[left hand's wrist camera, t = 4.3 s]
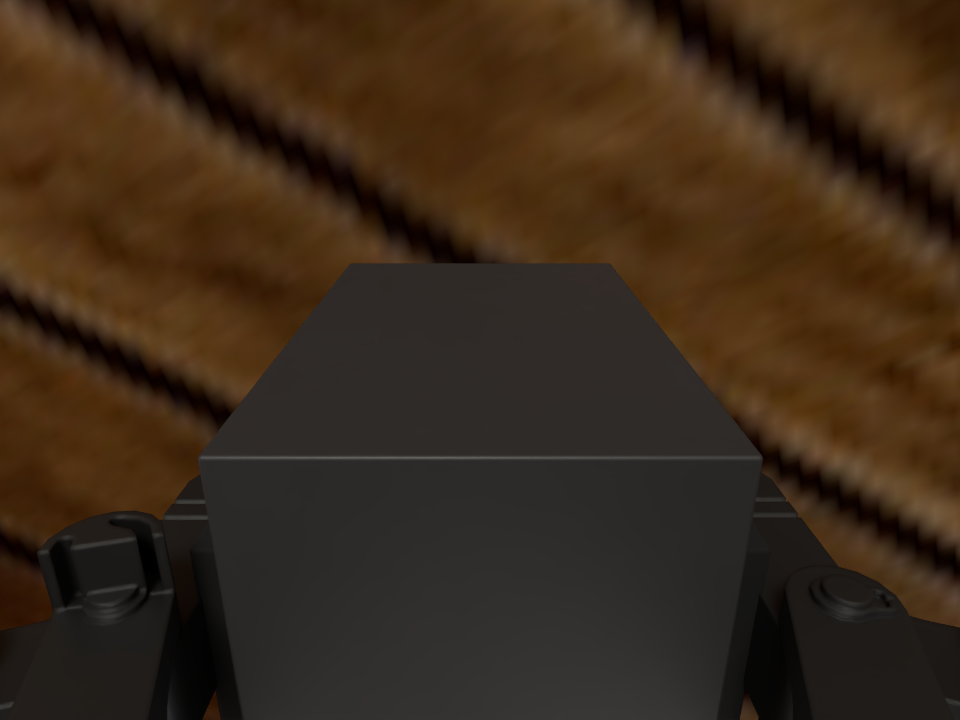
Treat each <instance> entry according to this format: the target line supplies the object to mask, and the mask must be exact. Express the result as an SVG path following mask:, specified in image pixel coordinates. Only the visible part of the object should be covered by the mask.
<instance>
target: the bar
mask: <svg viewBox="0 0 960 720" xmlns="http://www.w3.org/2000/svg"><path fill="white" fill-rule="evenodd" d="M762 461H763V458H762V455H761V454H760V453H759V452H758V450H757V449H756V448H755V447H754V445H753V444H752V443H751V441H750V440H749V439H748V438H747V436H746V435H745V434H744V433H743V431H742V430H741V429H740V428H739V426H738V425H737V424H736V422H735V421H734V420H733V419H732V417H731V416H730V415H729V414H728V412H727V411H726V410H725V409H724V407H723V406H722V405H721V403H720V402H719V401H718V400H717V398H716V397H715V396H714V395H713V393H712V392H711V391H710V390H709V388H708V387H707V386H706V385H705V383H704V382H703V381H702V379H701V378H700V377H699V376H698V374H697V373H696V372H695V371H694V369H693V368H692V367H691V366H690V364H689V363H688V362H687V360H686V359H685V358H684V357H683V355H682V354H681V353H680V352H679V350H678V349H677V348H676V347H675V345H674V344H673V343H672V341H671V340H670V339H669V338H668V336H667V335H666V334H665V333H664V331H663V330H662V329H661V328H660V326H659V325H658V324H657V323H656V321H655V320H654V319H653V317H652V316H651V315H650V314H649V312H648V311H647V310H646V309H645V307H644V306H643V305H642V304H641V302H640V301H639V300H638V298H637V297H636V296H635V295H634V293H633V292H632V291H631V290H630V288H629V287H628V286H627V285H626V283H625V282H624V281H623V279H622V278H621V277H620V276H619V274H618V273H617V272H616V271H615V269H614V268H613V267H612V266H611V264H350V265H349V266H348V267H347V269H346V270H345V271H344V272H343V274H342V275H341V276H340V277H339V279H338V280H337V281H336V283H335V284H334V285H333V286H332V288H331V289H330V290H329V291H328V293H327V294H326V295H325V297H324V298H323V299H322V300H321V302H320V303H319V304H318V305H317V307H316V308H315V309H314V310H313V312H312V313H311V314H310V316H309V317H308V318H307V319H306V321H305V322H304V323H303V324H302V326H301V327H300V328H299V329H298V331H297V332H296V333H295V335H294V336H293V337H292V338H291V340H290V341H289V342H288V343H287V345H286V346H285V347H284V349H283V350H282V351H281V352H280V354H279V355H278V356H277V357H276V359H275V360H274V361H273V362H272V364H271V365H270V366H269V368H268V369H267V370H266V371H265V373H264V374H263V375H262V376H261V378H260V379H259V380H258V381H257V383H256V384H255V385H254V387H253V388H252V389H251V390H250V392H249V393H248V394H247V395H246V397H245V398H244V399H243V400H242V402H241V403H240V404H239V406H238V407H237V408H236V409H235V411H234V412H233V413H232V414H231V416H230V417H229V418H228V420H227V421H226V422H225V423H224V425H223V426H222V427H221V428H220V430H219V431H218V432H217V433H216V435H215V436H214V437H213V439H212V440H211V441H210V442H209V444H208V445H207V446H206V447H205V449H204V450H203V451H202V452H201V454H200V455H199V457H198V463H199V469H200V474H201V480H202V486H203V492H204V498H205V504H206V509H207V515H208V521H209V527H210V533H211V539H212V545H213V550H214V556H215V562H216V568H217V574H218V580H219V586H220V591H221V597H222V603H223V609H224V615H225V621H226V627H227V632H228V638H229V644H230V650H231V656H232V662H233V667H234V673H235V679H236V685H237V691H238V697H239V703H240V708H241V714H242V720H718V718H719V712H720V706H721V700H722V695H723V689H724V683H725V677H726V671H727V665H728V660H729V654H730V648H731V642H732V636H733V630H734V625H735V619H736V613H737V607H738V601H739V595H740V590H741V584H742V578H743V572H744V566H745V561H746V555H747V549H748V543H749V537H750V531H751V526H752V520H753V514H754V508H755V502H756V496H757V491H758V485H759V479H760V473H761V467H762Z"/></svg>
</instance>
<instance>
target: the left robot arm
mask: <svg viewBox="0 0 960 720" xmlns="http://www.w3.org/2000/svg"><path fill="white" fill-rule="evenodd" d="M37 555H38V559H39V562H40V566H41V569H42V573H43V576H44V580H45V583H46V587H47V590H48V594H49V597H50V601H51V604H52V608H53V614H52V616H51V618H50V619H49V620H45V621H42V622H38V623H34V624H29V625H25V626H20V627H16V628H11V629H6V630H2V631H0V720H202V719H203V716H204V714H205V712H206V710H207V707H208V705H209V703H210V701H211V698H212V696H213V694H214V692H215V690H216V696H217V701H218V706H219V712H220V717H221V720H242V714H241V708H240V703H239V697H238V691H237V685H236V679H235V673H234V667H233V662H232V656H231V650H230V644H229V638H228V632H227V627H226V621H225V615H224V609H223V603H222V597H221V591H220V586H219V580H218V574H217V568H216V562H215V556H214V550H213V545H212V539H211V533H210V527H209V521H208V515H207V509H206V504H205V498H204V492H203V486H202V480H201V474H200V475H199V476H197V477H195V478H194V479H192V480H191V481H189V483H188V484H187V485H186V487H185V488H184V489H183V491H182V492H181V493H180V495H179V496H178V497H177V498H176V500H175V504H172V505H171V506H170V508H169V509H168V510H167V512H166V513H165V514H164V516H163V520H158V519H157V518H156V517H155V516H153V515H152V514H148V513H143V512H139V511H119V512H111V513H106V514H102V515H97V516H93V517H89V518H87V519H85V520H82V521H80V522H77V523H75V524H73V525H70V526H68V527H66V528H65V529H63V530H62V531H60V532H59V533H57V534H56V535H54V536H52V537H51V538H49V539H48V540H47V542H46V543H45V544H44V545H43V546H42V547H41V549H40V550H39V551H38V552H37ZM745 688H746V690H747V692H748V694H749V696H750V698H751V701H752V703H753V705H754V707H755V710H756V712H757V714H758V716H759V719H758V720H960V628H958V627H954V626H949V625H945V624H940V623H935V622H931V621H926V620H922V619H919V618H915V617H911V616H909V615H908V612H907V610H906V609H905V608H904V606H903V605H902V603H901V602H900V601H899V599H898V598H897V597H896V595H894V594H893V593H892V592H890V591H889V590H888V589H887V588H885V587H884V586H883V585H881V584H880V583H879V582H877V581H875V580H873V579H871V578H869V577H866V576H864V575H862V574H860V573H858V572H856V571H852V570H848V569H844V568H840V567H838V566H837V564H836V563H835V562H834V560H833V559H832V558H831V556H830V555H829V554H828V553H827V551H826V550H825V549H824V547H823V546H822V545H821V543H820V542H819V541H818V539H817V538H816V537H815V536H814V534H813V533H812V532H811V530H810V529H809V528H808V526H807V525H806V524H805V522H804V521H803V520H802V519H801V518H798V513H797V512H796V511H795V509H794V508H793V507H792V505H791V504H790V503H789V502H786V498H785V496H784V495H783V494H782V492H781V491H780V490H779V488H778V487H777V486H776V485H775V483H774V482H773V481H772V479H770V478H769V477H767V476H766V475H764V474H763V473H760V479H759V485H758V491H757V496H756V502H755V508H754V514H753V520H752V526H751V531H750V537H749V543H748V549H747V555H746V561H745V566H744V572H743V578H742V584H741V590H740V595H739V601H738V607H737V613H736V619H735V625H734V630H733V636H732V642H731V648H730V654H729V660H728V665H727V671H726V677H725V683H724V689H723V695H722V700H721V706H720V712H719V718H718V720H740V714H741V709H742V704H743V698H744V693H745Z"/></svg>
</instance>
